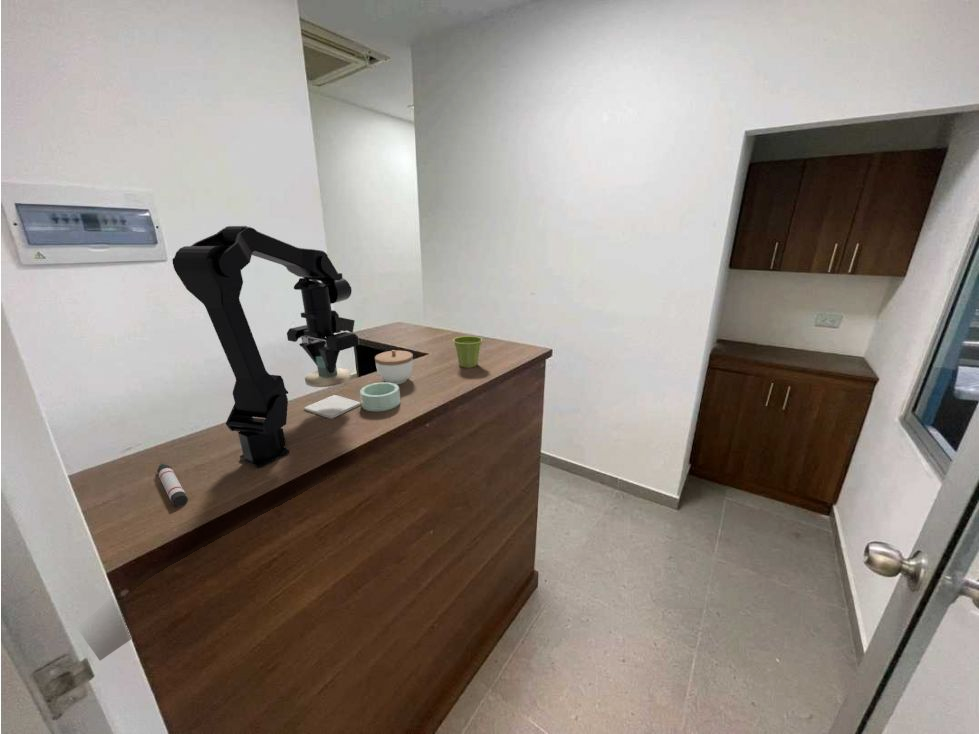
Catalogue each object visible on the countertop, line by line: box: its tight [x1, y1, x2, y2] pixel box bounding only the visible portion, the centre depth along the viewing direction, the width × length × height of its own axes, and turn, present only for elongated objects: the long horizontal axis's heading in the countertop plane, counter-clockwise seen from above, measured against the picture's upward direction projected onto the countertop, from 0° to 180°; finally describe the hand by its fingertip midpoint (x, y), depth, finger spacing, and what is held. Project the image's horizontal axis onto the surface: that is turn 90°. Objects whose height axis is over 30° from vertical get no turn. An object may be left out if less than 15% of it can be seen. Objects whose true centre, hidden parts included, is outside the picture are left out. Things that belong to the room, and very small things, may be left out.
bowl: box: [359, 381, 401, 413], centre depth 97 cm, size 9×9×4 cm
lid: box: [304, 355, 352, 388], centre depth 92 cm, size 10×10×6 cm
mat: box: [303, 394, 362, 420], centre depth 96 cm, size 9×10×1 cm
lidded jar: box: [374, 349, 414, 385], centre depth 111 cm, size 11×11×9 cm
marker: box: [156, 463, 189, 507], centre depth 66 cm, size 15×2×2 cm, turn 48°
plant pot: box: [452, 335, 483, 369], centre depth 124 cm, size 9×9×9 cm
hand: (327, 371), depth 92 cm, fingers closed on lid, 3 cm apart
